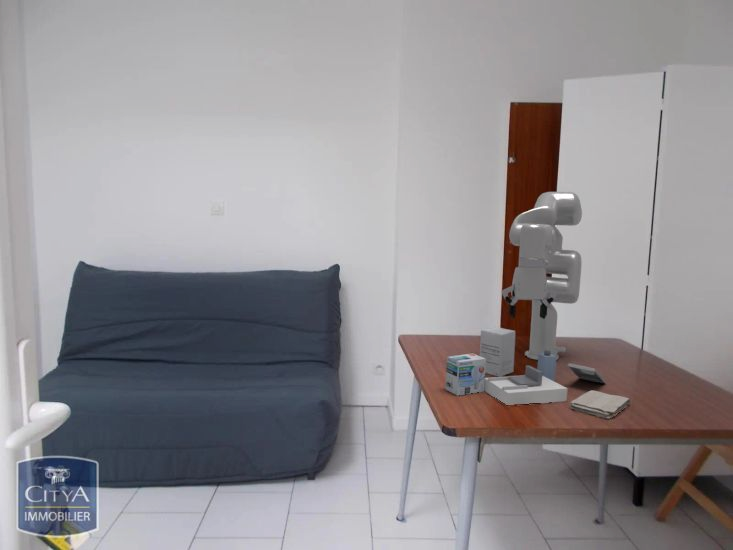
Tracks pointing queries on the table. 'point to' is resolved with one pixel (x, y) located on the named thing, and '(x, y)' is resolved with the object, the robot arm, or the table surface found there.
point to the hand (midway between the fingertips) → (527, 317)
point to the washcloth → (599, 404)
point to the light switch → (586, 373)
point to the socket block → (524, 391)
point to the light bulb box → (465, 374)
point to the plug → (547, 364)
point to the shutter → (528, 377)
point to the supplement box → (498, 350)
